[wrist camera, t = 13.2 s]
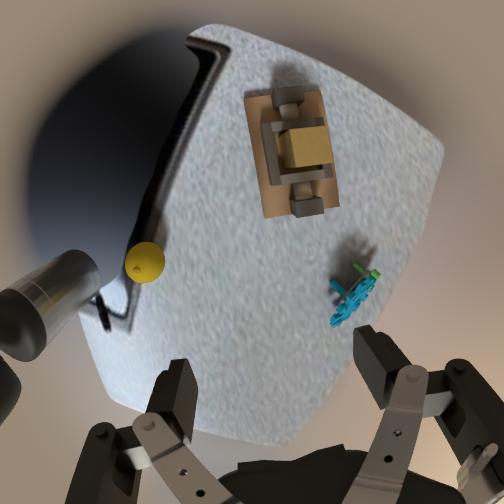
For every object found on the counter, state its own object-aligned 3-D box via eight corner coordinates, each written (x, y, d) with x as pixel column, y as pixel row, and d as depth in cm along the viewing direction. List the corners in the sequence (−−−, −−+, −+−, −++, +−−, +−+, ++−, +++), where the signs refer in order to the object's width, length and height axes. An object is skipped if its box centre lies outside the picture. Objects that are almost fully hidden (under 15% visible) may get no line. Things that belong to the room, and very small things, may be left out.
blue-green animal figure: (339, 332, 46) (331, 327, 37) (316, 309, 49) (302, 298, 40) (382, 285, 45) (384, 268, 37) (358, 264, 48) (354, 242, 40)
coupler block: (282, 168, 38) (296, 167, 29) (277, 138, 37) (289, 129, 28) (312, 164, 38) (332, 162, 29) (307, 135, 37) (326, 125, 28)
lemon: (132, 240, 41) (111, 256, 33) (164, 232, 41) (149, 246, 33) (142, 274, 43) (125, 295, 35) (174, 267, 43) (162, 288, 35)
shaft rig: (264, 217, 41) (268, 224, 36) (243, 101, 36) (244, 90, 31) (336, 205, 41) (351, 211, 36) (317, 93, 36) (329, 82, 31)
